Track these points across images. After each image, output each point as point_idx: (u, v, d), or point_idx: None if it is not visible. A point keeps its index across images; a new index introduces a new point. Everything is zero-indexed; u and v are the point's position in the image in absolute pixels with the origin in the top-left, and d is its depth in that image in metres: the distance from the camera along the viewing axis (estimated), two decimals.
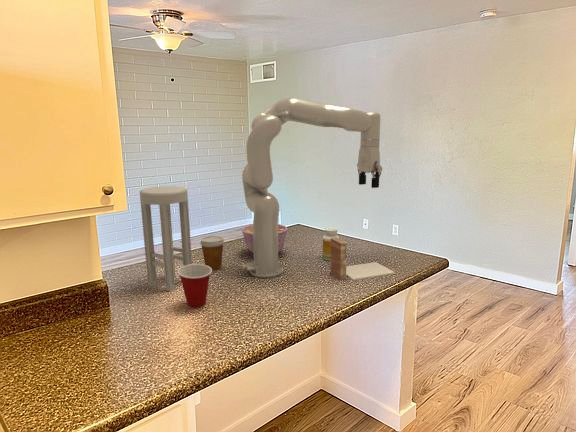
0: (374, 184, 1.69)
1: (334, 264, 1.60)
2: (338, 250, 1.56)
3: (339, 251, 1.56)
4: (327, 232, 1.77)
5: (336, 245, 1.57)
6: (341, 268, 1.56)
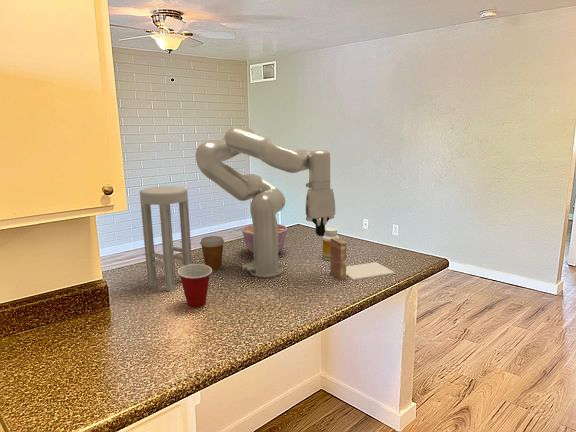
0: (324, 231, 1.54)
1: (334, 264, 1.60)
2: (338, 250, 1.56)
3: (339, 251, 1.56)
4: (327, 232, 1.77)
5: (336, 245, 1.57)
6: (341, 268, 1.56)
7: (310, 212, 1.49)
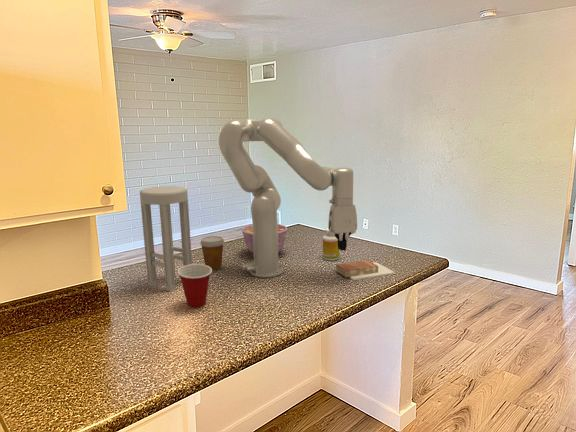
0: None
1: (351, 265, 1.63)
2: (369, 265, 1.63)
3: (370, 266, 1.62)
4: (327, 232, 1.77)
5: (370, 264, 1.65)
6: (356, 270, 1.59)
7: (333, 227, 1.54)
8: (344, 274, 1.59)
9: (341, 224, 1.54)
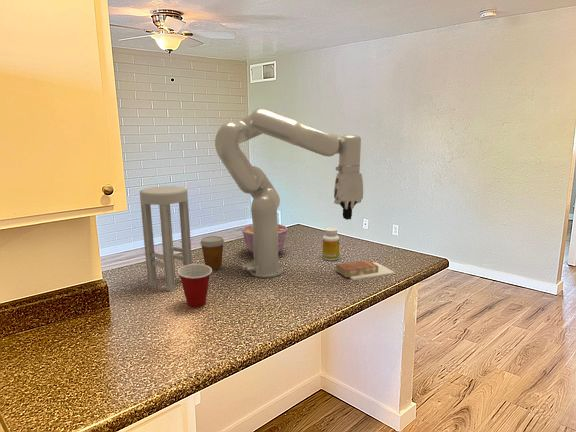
0: (351, 215, 1.57)
1: (351, 265, 1.63)
2: (369, 265, 1.63)
3: (370, 266, 1.62)
4: (327, 232, 1.77)
5: (370, 264, 1.65)
6: (356, 270, 1.59)
7: (339, 195, 1.52)
8: (344, 274, 1.59)
9: (347, 192, 1.52)
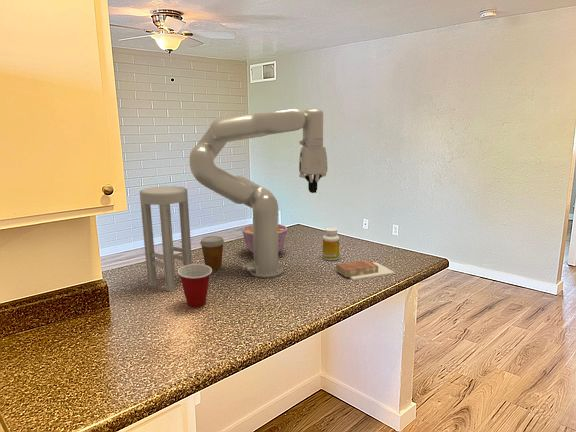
0: None
1: (351, 265, 1.63)
2: (369, 265, 1.63)
3: (370, 266, 1.62)
4: (327, 232, 1.77)
5: (370, 264, 1.65)
6: (356, 270, 1.59)
7: (303, 168, 1.55)
8: (344, 274, 1.59)
9: (311, 165, 1.56)
